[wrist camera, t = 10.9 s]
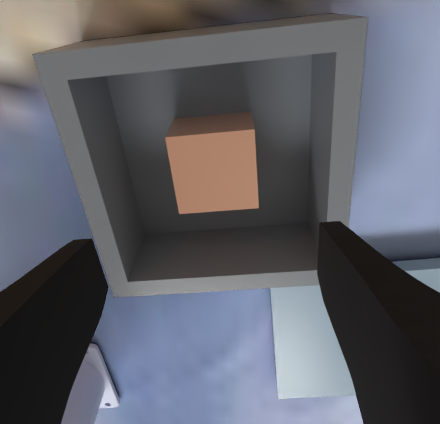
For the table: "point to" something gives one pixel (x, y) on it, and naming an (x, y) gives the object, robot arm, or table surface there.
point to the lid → (319, 337)
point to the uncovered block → (213, 162)
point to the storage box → (202, 106)
